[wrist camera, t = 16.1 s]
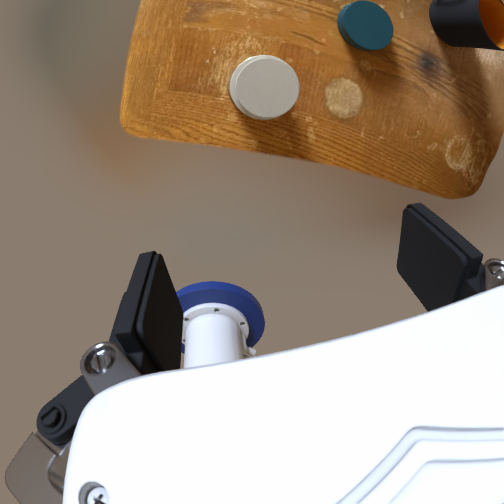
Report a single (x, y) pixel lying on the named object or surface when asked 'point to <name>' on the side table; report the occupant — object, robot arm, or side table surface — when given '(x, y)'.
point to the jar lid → (365, 25)
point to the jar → (263, 87)
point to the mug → (469, 23)
